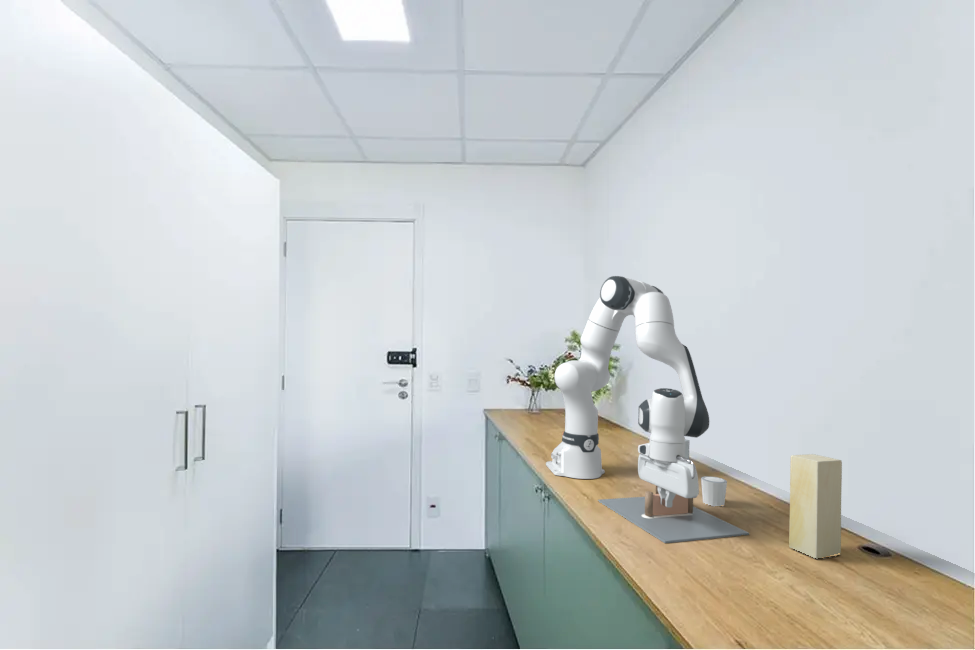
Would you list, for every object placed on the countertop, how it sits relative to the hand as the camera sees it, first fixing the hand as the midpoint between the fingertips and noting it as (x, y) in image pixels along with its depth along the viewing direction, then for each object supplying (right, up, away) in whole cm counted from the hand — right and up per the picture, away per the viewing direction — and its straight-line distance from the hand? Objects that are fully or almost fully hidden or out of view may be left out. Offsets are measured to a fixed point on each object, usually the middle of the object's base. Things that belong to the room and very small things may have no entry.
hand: (666, 506), depth 130 cm
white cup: (+19, -5, +15) cm, 25 cm away
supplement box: (+19, -6, +46) cm, 50 cm away
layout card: (+1, -4, +2) cm, 4 cm away
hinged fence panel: (+2, -3, +3) cm, 4 cm away
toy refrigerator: (+27, -4, -17) cm, 32 cm away
